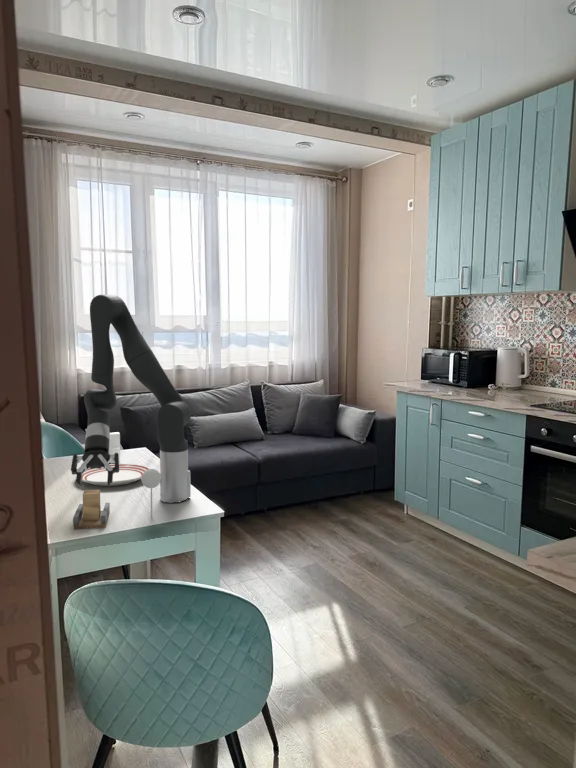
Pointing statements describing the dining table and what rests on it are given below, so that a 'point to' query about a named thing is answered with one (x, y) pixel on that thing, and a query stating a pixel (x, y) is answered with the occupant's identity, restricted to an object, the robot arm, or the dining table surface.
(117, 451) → the base with upright slab
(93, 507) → the oak block
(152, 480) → the lollipop
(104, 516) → the walnut track
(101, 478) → the dinner plate
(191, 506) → the dining table surface
